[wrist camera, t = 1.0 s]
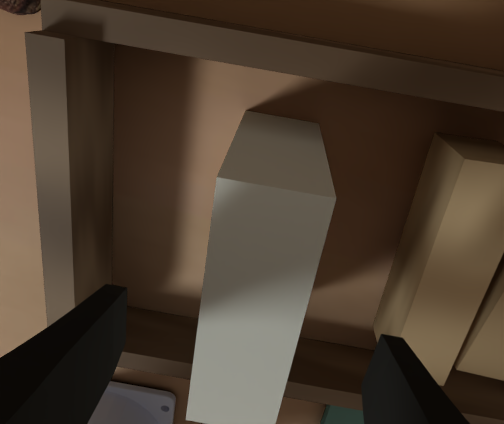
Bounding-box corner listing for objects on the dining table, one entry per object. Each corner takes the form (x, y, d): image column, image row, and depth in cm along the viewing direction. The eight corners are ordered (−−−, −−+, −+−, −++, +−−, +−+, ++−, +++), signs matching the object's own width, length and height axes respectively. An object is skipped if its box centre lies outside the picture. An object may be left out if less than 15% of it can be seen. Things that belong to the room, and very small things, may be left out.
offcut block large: (421, 330, 22) (443, 385, 18) (372, 322, 22) (385, 376, 18) (495, 139, 17) (540, 169, 14) (433, 130, 17) (464, 159, 14)
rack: (510, 390, 22) (551, 463, 19) (89, 314, 23) (51, 372, 19) (685, 103, 16) (802, 132, 12) (82, -3, 16) (21, -6, 12)
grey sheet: (278, 299, 21) (272, 435, 14) (219, 288, 21) (185, 419, 14) (318, 123, 17) (336, 198, 10) (245, 110, 17) (216, 177, 10)
